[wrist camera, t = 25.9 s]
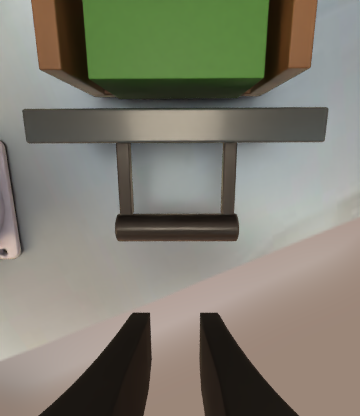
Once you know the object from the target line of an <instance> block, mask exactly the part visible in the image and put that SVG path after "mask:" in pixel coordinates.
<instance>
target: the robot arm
mask: <svg viewBox="0 0 360 416" xmlns="http://www.w3.org/2000/svg"><path fill="white" fill-rule="evenodd" d="M4 249H5V250H7V252H8V254H7V253H5V252H4ZM20 254H21V246H20V240H19V234H18V227H17V221H16V214H15V208H14V202H13V195H12V189H11V182H10V176H9V170H8V163H7V157H6V151H5V146H4V144H3V143H2V142H1V141H0V259H15V258H17V257H18V256H19V255H20ZM151 360H152V358H151V331H150V313H132V314H131V315H130V317H129V318H128V320H127V321H126V323H125V324H124V325H123V327H122V328H121V329H120V331H119V332H118V333H117V335H116V336H115V337H114V338H113V340H112V341H111V342H110V343H109V345H108V346H107V347H106V348H105V349H104V351H103V352H102V353H101V354H100V356H99V357H98V358H97V359H96V360H95V361H94V362H93V363H92V365H91V366H90V367H89V368H88V369H87V370H86V371H85V372H84V373H83V374H82V375H81V376H80V377H79V379H78V380H77V381H76V382H75V383H74V384H73V385H72V386H71V387H70V388H69V389H68V390H66V392H64V393H63V394H62V395H61V396H60V397H59V398H58V399H57V400H56V401H55V402H54V403H53V404H52V405H50V406H49V407H48V408H47V409H46V410H45V411H43V412H42V413H41V414H40V415H39V416H143V415H144V410H145V405H146V400H147V395H148V390H149V381H150V370H151ZM200 377H201V391H202V397H203V405H204V411H205V416H299V415H298V414H297V413H296V412H295V411H294V410H293V409H292V408H291V407H290V406H289V405H288V404H287V403H286V402H285V401H284V400H283V399H282V398H281V397H280V396H279V395H278V394H277V393H276V392H275V391H274V389H273V388H272V387H271V386H270V385H269V384H268V383H267V381H266V380H265V379H264V378H263V377H262V375H261V374H260V373H259V372H258V371H257V369H256V368H255V367H254V366H253V365H252V363H251V362H250V361H249V359H248V358H247V357H246V355H245V354H244V352H243V351H242V350H241V348H240V347H239V346H238V344H237V343H236V341H235V340H234V338H233V337H232V335H231V334H230V332H229V331H228V329H227V327H226V326H225V324H224V322H223V320H222V319H221V317H220V315H219V314H218V313H200Z"/></svg>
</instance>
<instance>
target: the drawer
mask: <svg viewBox="0 0 360 416" xmlns="http://www.w3.org/2000/svg"><path fill="white" fill-rule="evenodd" d="M31 3H32V11H33V20H34V28H35V36H36V45H37V53H38V62H39V69H40V70H42V71H44V72H46V73H48V74H50V75H52V76H54V77H56V78H58V79H60V80H62V81H64V82H66V83H68V84H70V85H72V86H74V87H76V88H78V89H80V90H82V91H84V92H86V93H88V94H90V95H93V96H95V97H116V96H114V95H113V94H111V93H110V92H108V91H106V90H105V89H103V88H102V87H100V86H99V85H97V84H96V83H94V82H93V81H91V80H90V79H89V78H88V66H87V53H86V40H85V28H84V15H83V2H82V0H31ZM316 10H317V0H269V12H268V27H267V43H266V58H265V73H264V78H263V79H262V80H261V81H259V82H258V83H257V84H255V85H254V86H253V87H251V88H250V89H249V90H247V91H246V92H245V93H243V94H242V95H241V96H261V95H262V94H265V93H266V92H268V91H270V90H272V89H273V88H275V87H277V86H279V85H281V84H282V83H284V82H286V81H288V80H289V79H291V78H293V77H295V76H297V75H298V74H300V73H302V72H304V71H305V70H307V69H309V68H310V67H311V59H312V49H313V39H314V29H315V20H316ZM22 112H23V119H24V126H25V134H26V141H27V143H116V153H117V170H118V186H119V203H120V214H118V215H117V218H116V223H115V234H116V238H117V240H118V241H237V239H238V235H239V221H238V217H237V214H235V213H234V203H235V181H236V159H237V142H323V141H324V140H325V133H326V125H327V117H328V108H326V107H284V108H106V109H24V110H23V111H22ZM131 143H223V151H222V182H221V213H215V214H133V213H134V202H133V181H132V160H131Z"/></svg>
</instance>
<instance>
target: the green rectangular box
mask: <svg viewBox="0 0 360 416" xmlns="http://www.w3.org/2000/svg"><path fill="white" fill-rule="evenodd" d="M82 2H83V15H84V28H85V40H86V53H87V66H88V78H89V79H90V80H91V81H93V82H94V83H96V84H97V85H99V86H100V87H102V88H103V89H105V90H106V91H108V92H110V93H111V94H113V95H114V96H116V97H117V98H119V99H188V98H238V97H239V96H241V95H242V94H243V93H245V92H246V91H247V90H249V89H250V88H251V87H253V86H254V85H255V84H257V83H258V82H259V81H261V80H262V79H263V78H264V73H265V58H266V43H267V27H268V12H269V0H82Z"/></svg>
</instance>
